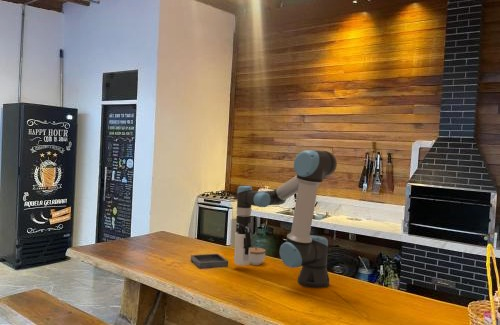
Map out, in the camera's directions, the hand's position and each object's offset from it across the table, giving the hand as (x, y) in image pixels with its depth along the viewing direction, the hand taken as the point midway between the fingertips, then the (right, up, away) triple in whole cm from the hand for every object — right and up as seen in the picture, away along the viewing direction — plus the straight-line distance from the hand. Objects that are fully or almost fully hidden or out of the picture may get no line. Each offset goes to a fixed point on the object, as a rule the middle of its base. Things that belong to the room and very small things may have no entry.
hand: (242, 258), depth 224 cm
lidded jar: (+7, -6, +13) cm, 16 cm away
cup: (0, -3, 0) cm, 3 cm away
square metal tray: (-18, -5, +8) cm, 20 cm away
